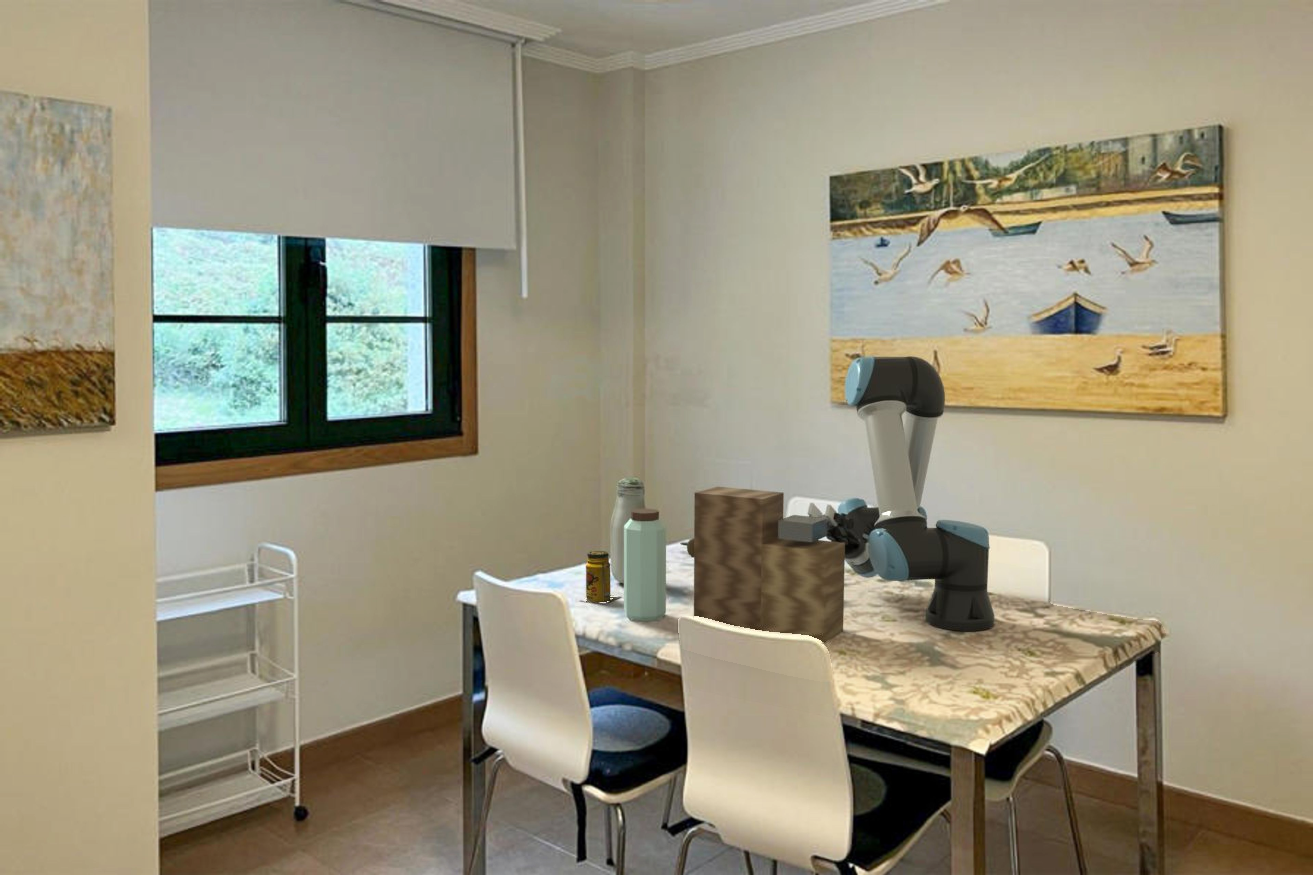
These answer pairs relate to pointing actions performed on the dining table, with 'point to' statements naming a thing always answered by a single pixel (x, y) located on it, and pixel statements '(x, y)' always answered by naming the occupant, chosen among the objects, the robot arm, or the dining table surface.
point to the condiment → (598, 577)
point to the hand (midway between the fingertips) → (818, 509)
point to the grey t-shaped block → (804, 528)
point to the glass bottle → (623, 520)
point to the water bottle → (644, 566)
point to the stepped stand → (763, 567)
